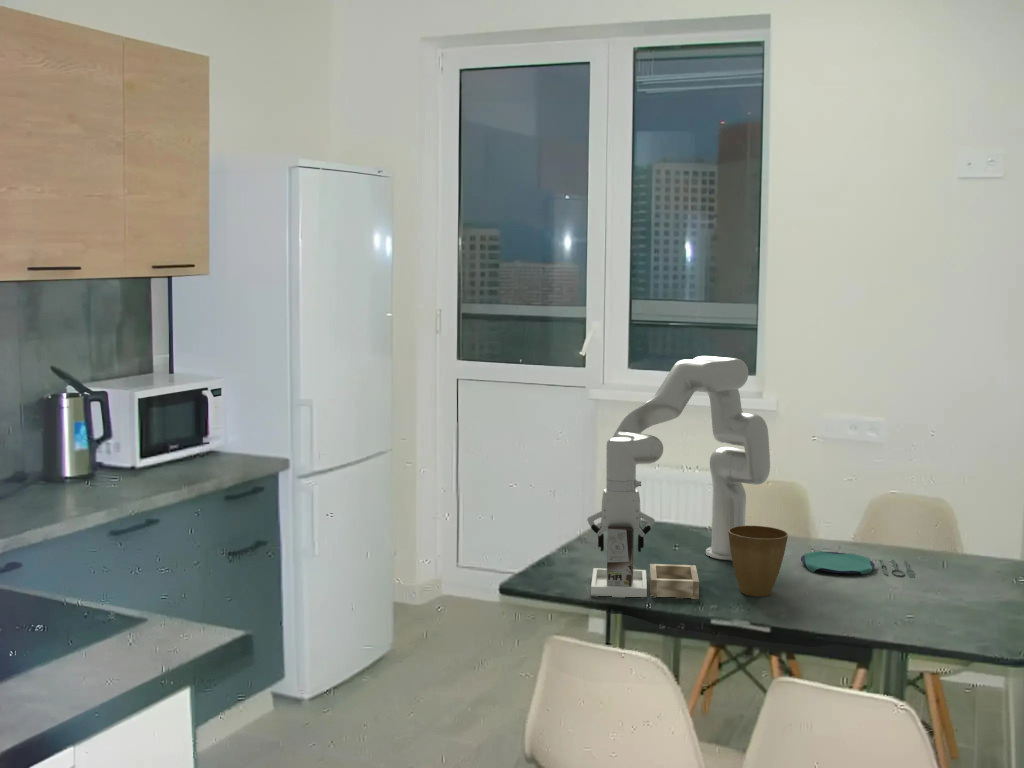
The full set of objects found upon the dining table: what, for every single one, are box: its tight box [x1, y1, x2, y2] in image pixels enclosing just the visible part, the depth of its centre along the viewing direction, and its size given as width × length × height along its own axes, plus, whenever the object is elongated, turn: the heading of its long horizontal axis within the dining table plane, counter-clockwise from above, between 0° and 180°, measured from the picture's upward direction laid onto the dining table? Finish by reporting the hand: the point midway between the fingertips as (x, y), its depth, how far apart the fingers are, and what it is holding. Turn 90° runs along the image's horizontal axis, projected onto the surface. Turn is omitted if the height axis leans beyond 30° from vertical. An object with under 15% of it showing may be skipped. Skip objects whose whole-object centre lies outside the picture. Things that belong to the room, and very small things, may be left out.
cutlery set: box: [800, 550, 916, 579], centre depth 298 cm, size 20×30×2 cm, turn 77°
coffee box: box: [606, 527, 635, 587], centre depth 278 cm, size 9×6×16 cm
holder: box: [649, 563, 700, 600], centre depth 277 cm, size 12×15×4 cm
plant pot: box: [728, 525, 789, 598], centre depth 274 cm, size 15×15×16 cm
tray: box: [590, 567, 648, 598], centre depth 278 cm, size 14×17×2 cm
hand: (620, 550), depth 278 cm, fingers open, 9 cm apart
